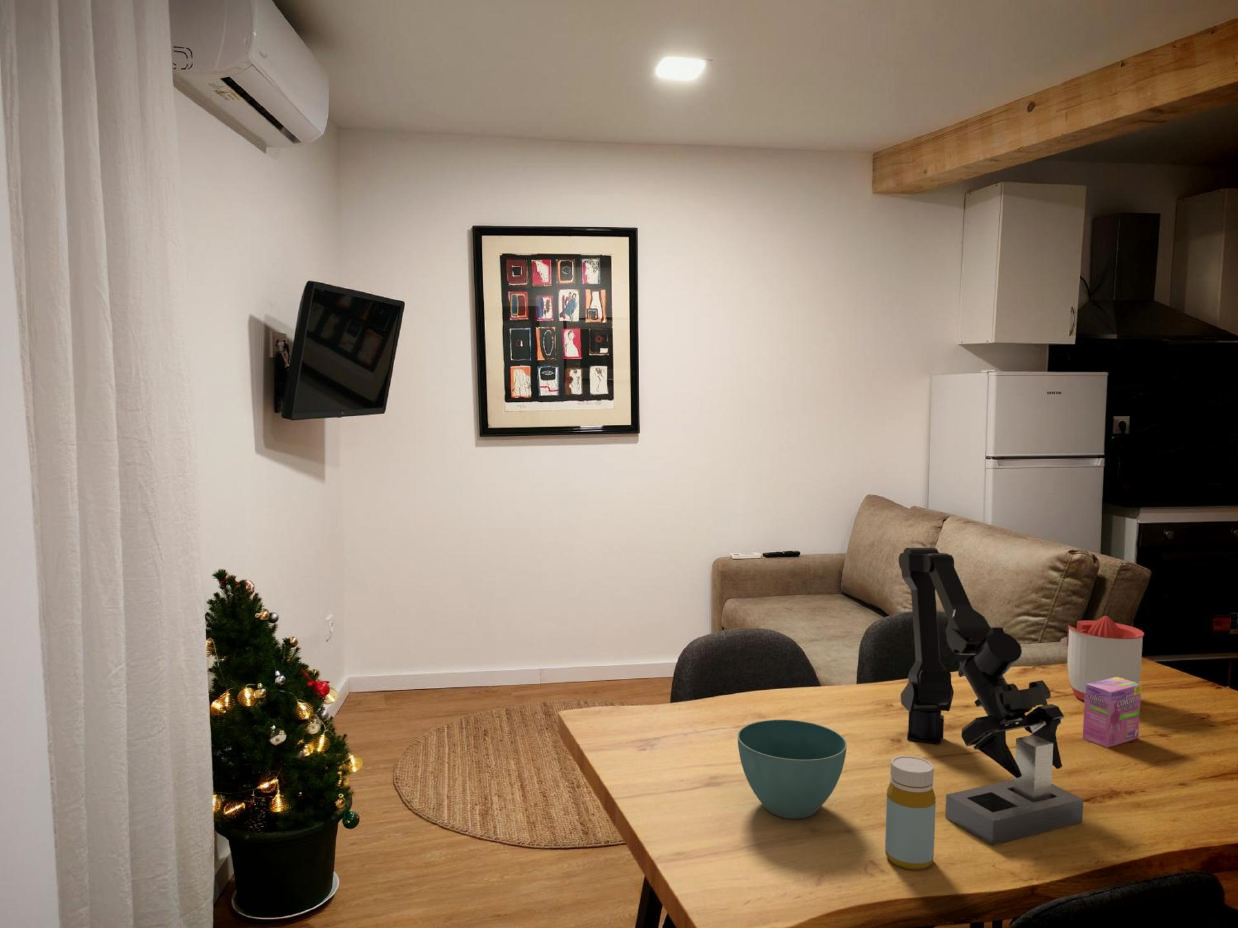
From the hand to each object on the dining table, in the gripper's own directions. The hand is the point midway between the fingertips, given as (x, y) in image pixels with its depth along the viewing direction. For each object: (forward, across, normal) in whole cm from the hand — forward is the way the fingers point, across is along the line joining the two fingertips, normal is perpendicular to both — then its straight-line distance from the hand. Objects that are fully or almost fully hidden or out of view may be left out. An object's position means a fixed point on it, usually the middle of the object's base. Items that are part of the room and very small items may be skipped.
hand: (1039, 772), depth 145 cm
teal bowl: (-8, -36, +20) cm, 42 cm away
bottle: (+7, -29, +5) cm, 30 cm away
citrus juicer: (-21, +63, +33) cm, 74 cm away
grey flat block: (+5, -4, +7) cm, 9 cm away
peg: (+5, 0, +7) cm, 8 cm away
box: (-8, +43, +20) cm, 48 cm away
